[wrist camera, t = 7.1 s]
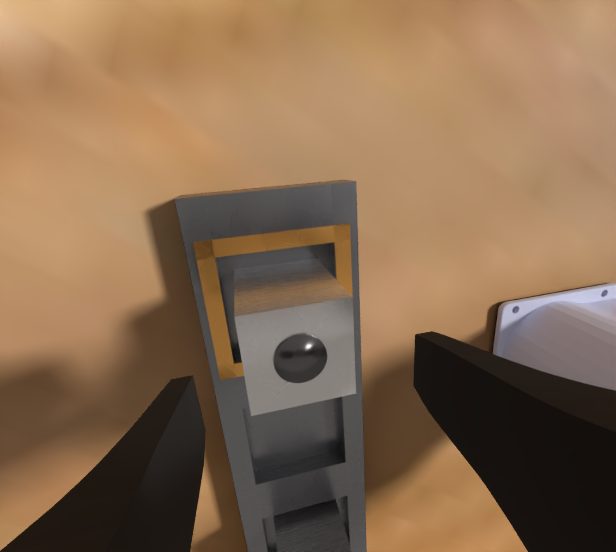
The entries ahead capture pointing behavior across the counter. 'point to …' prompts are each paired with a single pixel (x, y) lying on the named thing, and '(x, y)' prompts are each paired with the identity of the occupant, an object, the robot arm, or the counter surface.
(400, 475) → the counter surface
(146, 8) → the counter surface
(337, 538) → the nut
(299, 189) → the rail
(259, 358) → the drawer with knob
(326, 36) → the counter surface
